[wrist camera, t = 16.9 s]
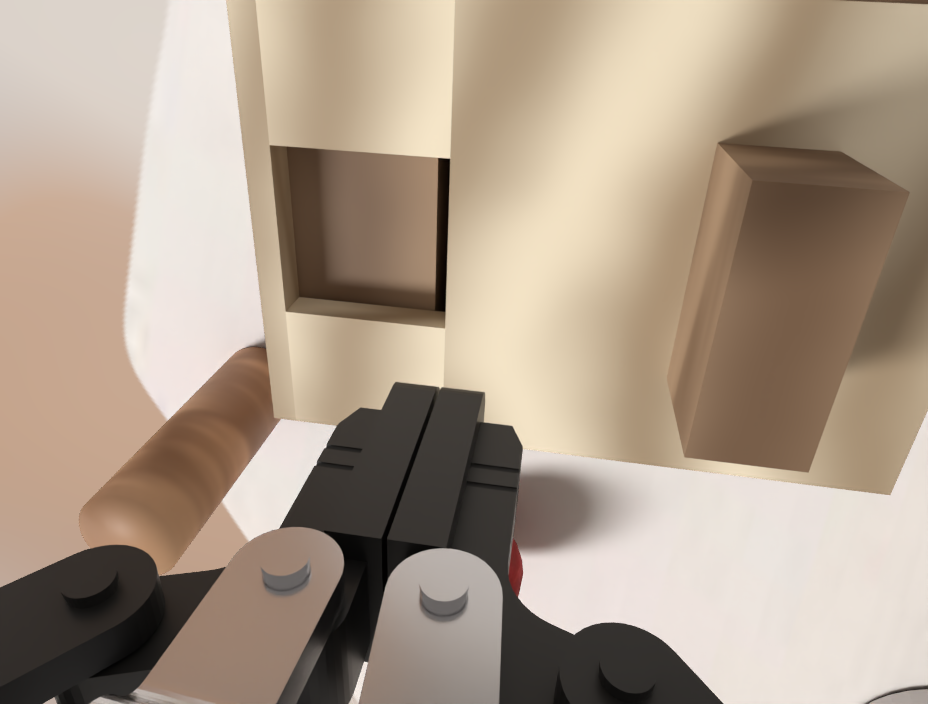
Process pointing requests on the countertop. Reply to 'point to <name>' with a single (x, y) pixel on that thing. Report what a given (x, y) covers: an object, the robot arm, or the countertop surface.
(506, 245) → the lid
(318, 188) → the wooden box
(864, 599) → the countertop surface
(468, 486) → the robot arm
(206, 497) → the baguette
